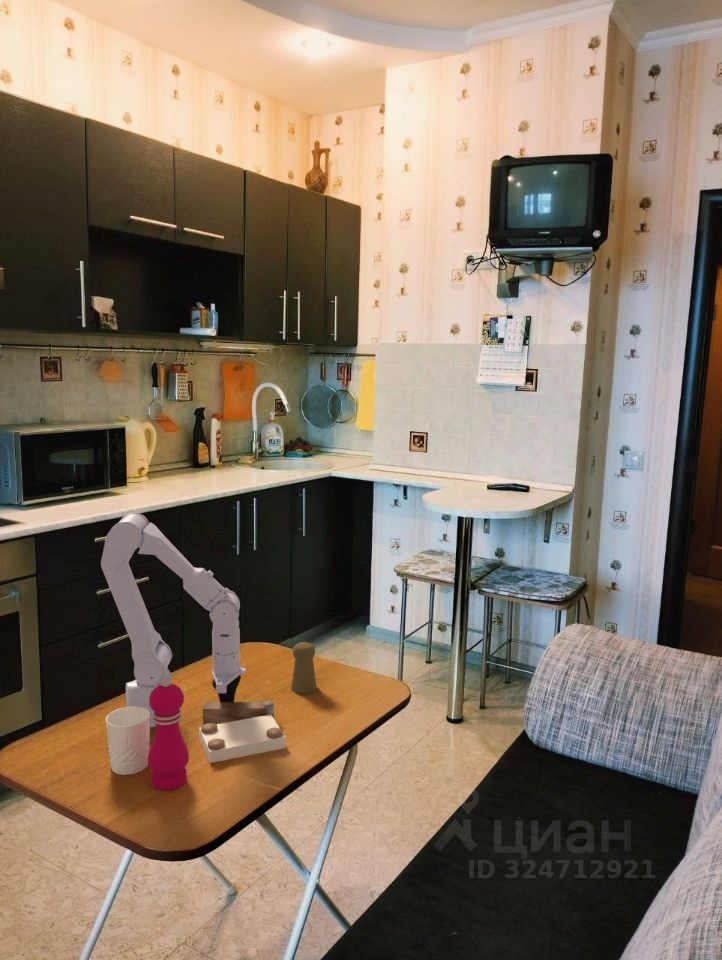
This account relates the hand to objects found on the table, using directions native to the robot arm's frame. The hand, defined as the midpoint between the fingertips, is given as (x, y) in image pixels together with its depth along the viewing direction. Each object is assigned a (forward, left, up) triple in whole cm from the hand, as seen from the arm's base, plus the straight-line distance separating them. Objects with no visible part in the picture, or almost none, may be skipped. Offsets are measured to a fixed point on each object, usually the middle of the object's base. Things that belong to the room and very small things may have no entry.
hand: (227, 710), depth 160 cm
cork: (+20, +7, -2) cm, 21 cm away
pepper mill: (-15, -20, -2) cm, 26 cm away
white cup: (-22, -12, -2) cm, 25 cm away
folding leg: (+2, -3, -1) cm, 4 cm away
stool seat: (0, -12, -1) cm, 12 cm away
